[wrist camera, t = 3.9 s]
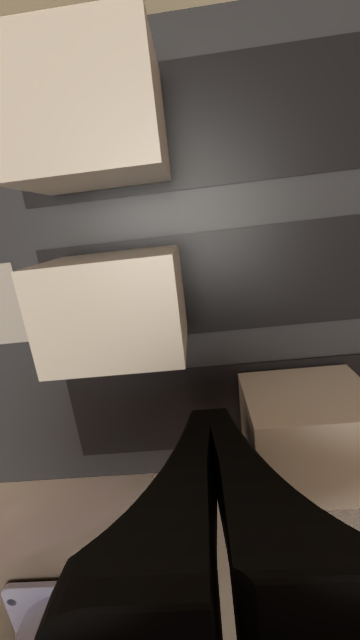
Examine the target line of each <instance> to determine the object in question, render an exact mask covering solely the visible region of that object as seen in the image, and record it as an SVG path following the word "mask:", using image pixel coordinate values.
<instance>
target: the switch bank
mask: <svg viewBox="0 0 360 640" xmlns="http://www.w3.org/2000/svg"><path fill="white" fill-rule="evenodd" d="M147 17H148V22H149V26H150V31H151V35H152V40H153V44H154V49H155V53H156V58H157V62H158V67H159V71H160V80H161V89H162V98H163V107H164V117H165V126H166V135H167V144H168V153H169V162H170V172H171V181H165V182H157V183H149V184H141V185H133V186H125V187H117V188H109V189H101V190H93V191H85V192H77V193H69V194H60V195H52V196H51V195H45V194H39V193H33V192H27V191H22V190H16V189H10V188H4V187H0V483H3V482H19V481H34V480H50V479H65V478H81V477H97V476H112V475H128V474H144V473H159V472H160V470H161V469H162V467H163V466H164V464H165V463H166V461H167V460H168V458H169V456H170V455H171V453H172V451H173V450H174V448H175V446H176V444H177V442H178V440H179V439H180V437H181V435H182V433H183V430H184V428H185V426H186V424H187V421H188V418H189V415H190V413H191V412H192V411H193V410H204V409H217V408H226V409H227V410H228V411H229V413H230V415H231V417H232V419H233V420H234V422H235V424H236V425H237V427H238V428H239V430H240V431H241V432H242V430H241V415H240V399H239V384H238V373H247V372H259V371H271V370H283V369H295V368H307V367H319V366H331V365H343V364H346V365H347V366H348V367H350V368H351V369H352V370H353V371H354V372H355V373H356V374H357V375H358V376H359V377H360V0H238V1H232V2H226V3H220V4H213V5H207V6H201V7H194V8H188V9H182V10H175V11H169V12H163V13H157V14H150V15H147ZM174 244H178V245H179V254H180V263H181V272H182V281H183V291H184V300H185V309H186V318H187V327H188V329H187V350H186V369H183V370H172V371H160V372H148V373H136V374H124V375H113V376H101V377H89V378H77V379H66V380H54V381H42V382H39V380H38V376H37V372H36V368H35V364H34V360H33V356H32V353H31V349H30V345H29V341H28V337H27V333H26V329H25V326H24V322H23V318H22V314H21V310H20V306H19V302H18V299H17V295H16V291H15V287H14V283H13V279H12V275H11V272H12V271H16V270H19V269H23V268H26V267H30V266H33V265H37V264H40V263H44V262H47V261H51V260H54V259H58V258H61V257H66V256H75V255H84V254H93V253H102V252H111V251H120V250H129V249H138V248H147V247H156V246H165V245H174Z"/></svg>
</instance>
